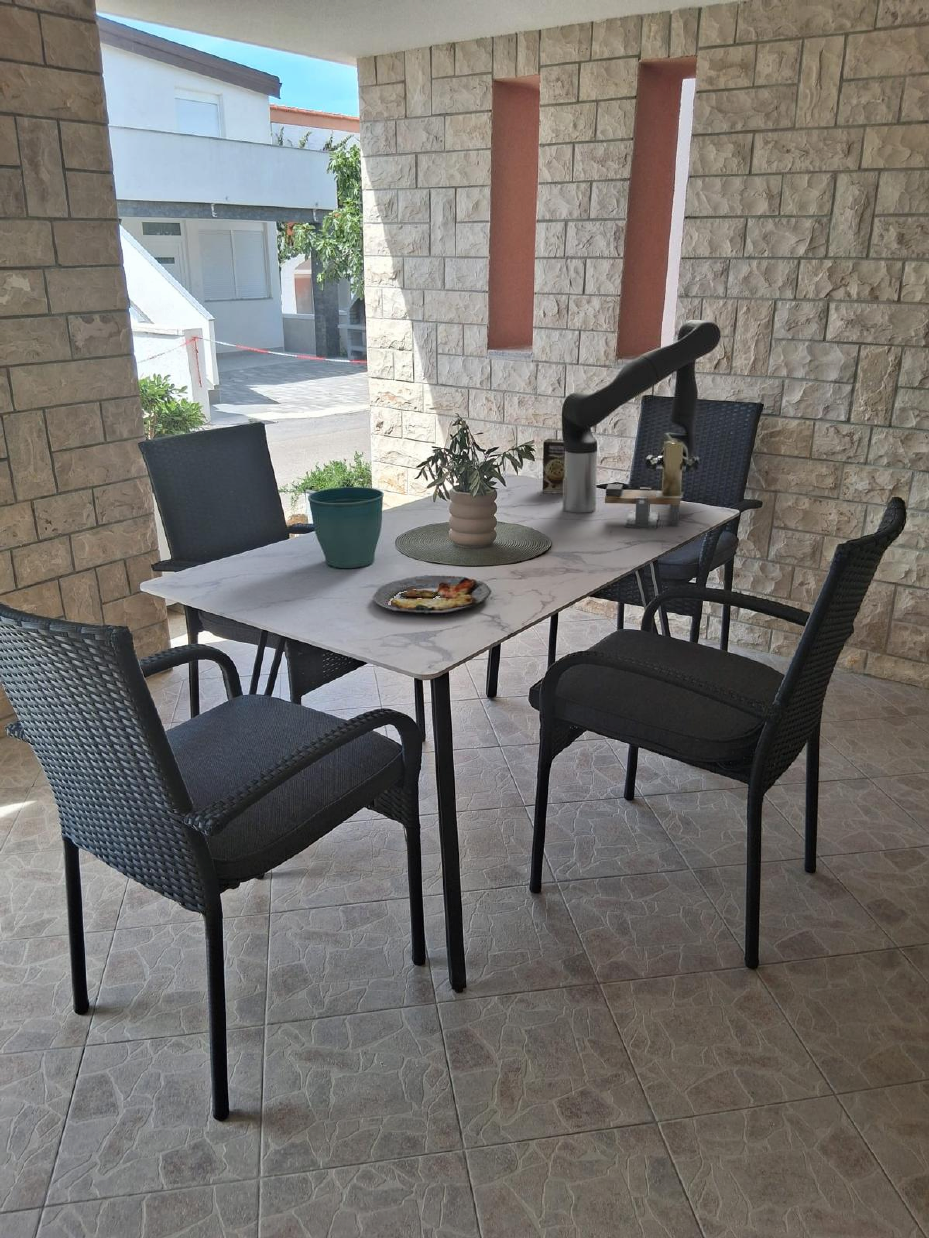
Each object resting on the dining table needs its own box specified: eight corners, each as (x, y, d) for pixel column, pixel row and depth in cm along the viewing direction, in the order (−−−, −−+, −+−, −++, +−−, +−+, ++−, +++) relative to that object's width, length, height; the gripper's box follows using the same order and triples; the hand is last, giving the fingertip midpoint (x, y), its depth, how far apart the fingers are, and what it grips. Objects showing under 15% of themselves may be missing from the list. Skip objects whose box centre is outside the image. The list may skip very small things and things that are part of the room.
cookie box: (541, 493, 294) (542, 441, 288) (546, 488, 300) (546, 438, 294) (570, 494, 291) (571, 442, 286) (574, 489, 297) (575, 439, 291)
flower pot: (343, 548, 242) (338, 483, 236) (401, 556, 233) (398, 490, 227) (298, 567, 227) (292, 499, 221) (358, 577, 218) (353, 506, 212)
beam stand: (625, 527, 253) (626, 498, 250) (630, 514, 266) (631, 486, 263) (676, 530, 250) (678, 500, 247) (679, 517, 263) (681, 488, 260)
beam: (604, 503, 254) (605, 490, 253) (609, 494, 263) (609, 482, 262) (681, 505, 249) (682, 492, 248) (683, 496, 258) (683, 484, 257)
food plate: (499, 585, 210) (499, 570, 209) (478, 623, 189) (477, 607, 188) (393, 583, 216) (392, 568, 215) (361, 619, 195) (359, 603, 194)
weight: (661, 496, 252) (663, 444, 247) (662, 492, 257) (664, 441, 252) (680, 496, 251) (683, 444, 246) (681, 492, 256) (683, 441, 251)
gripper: (649, 442, 265) (644, 453, 251) (700, 443, 262) (699, 454, 247) (648, 468, 268) (643, 480, 253) (699, 469, 265) (697, 482, 250)
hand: (671, 467), depth 250 cm, fingers open, 8 cm apart
